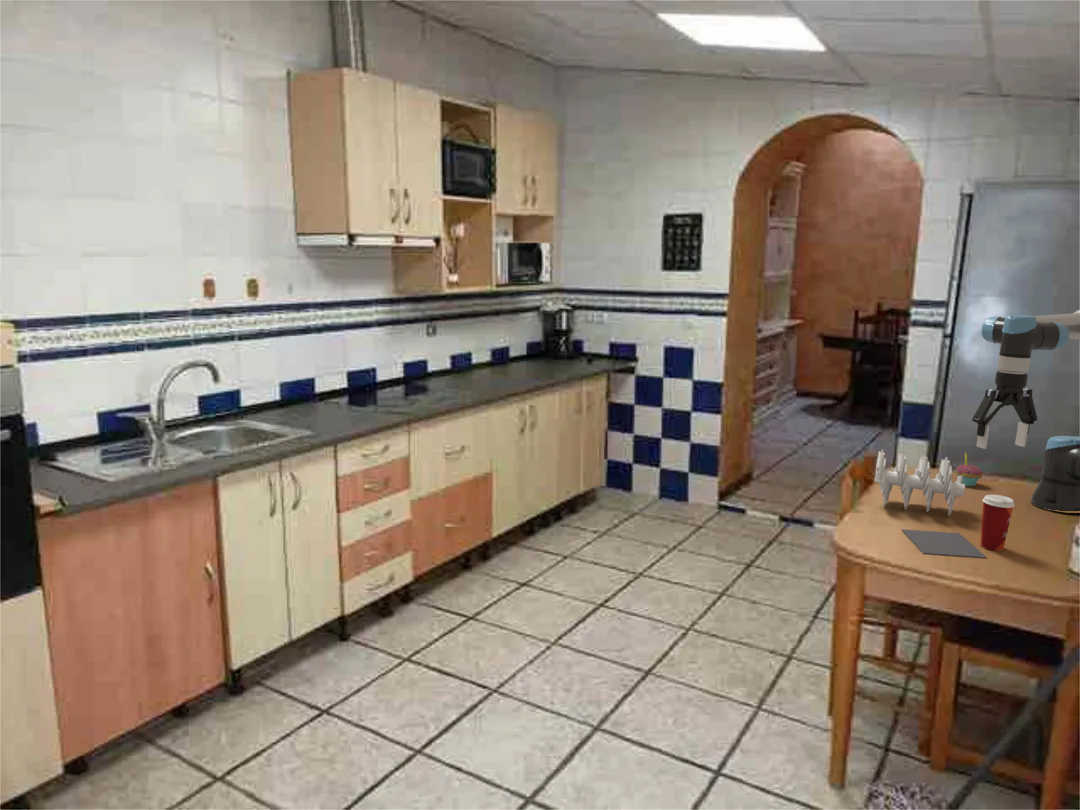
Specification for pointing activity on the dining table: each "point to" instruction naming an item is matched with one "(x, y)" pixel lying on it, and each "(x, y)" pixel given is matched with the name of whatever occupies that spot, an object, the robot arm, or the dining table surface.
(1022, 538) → the dining table surface
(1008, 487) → the dining table surface
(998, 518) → the paper cup
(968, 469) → the cupcake
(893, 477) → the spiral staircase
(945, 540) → the mat
